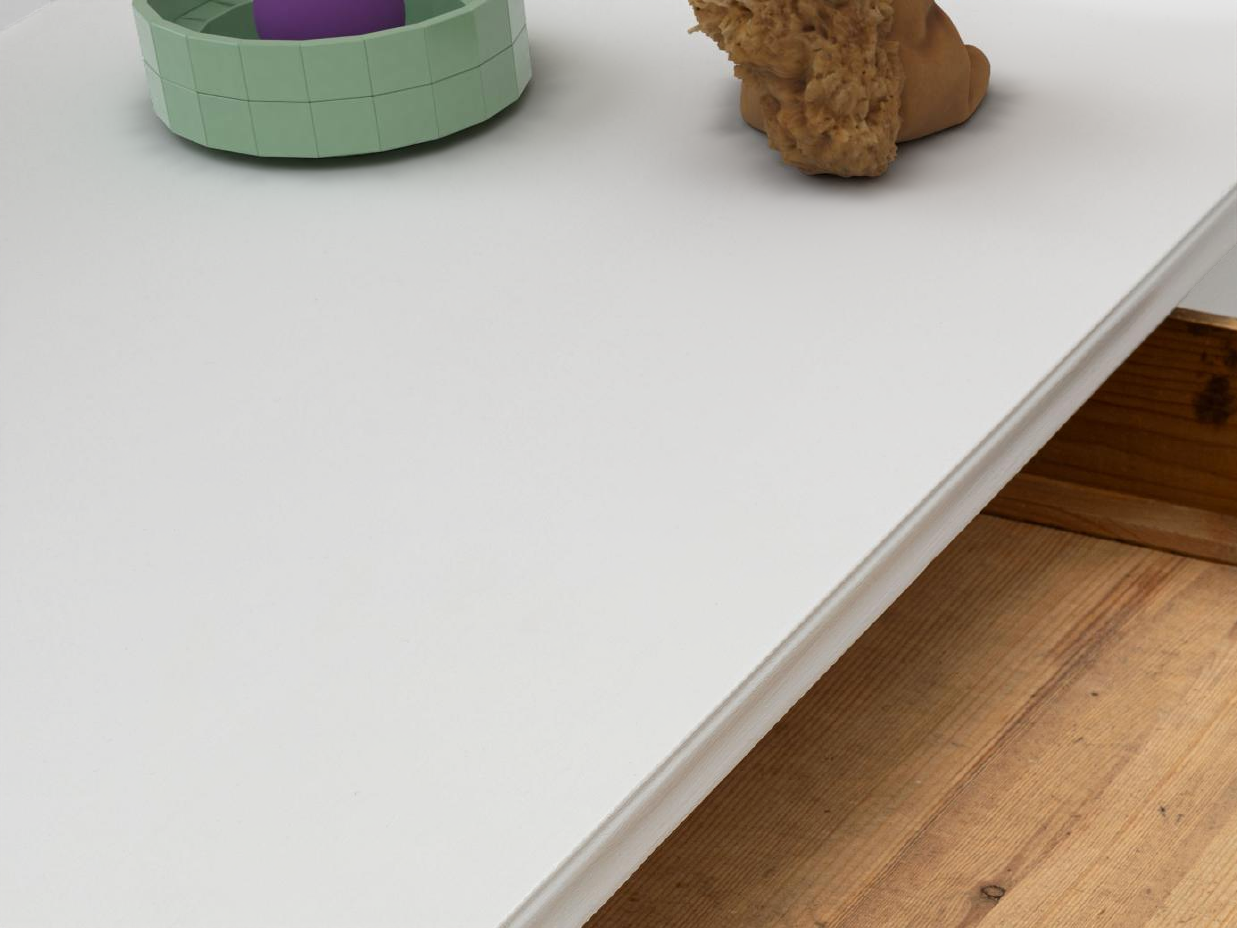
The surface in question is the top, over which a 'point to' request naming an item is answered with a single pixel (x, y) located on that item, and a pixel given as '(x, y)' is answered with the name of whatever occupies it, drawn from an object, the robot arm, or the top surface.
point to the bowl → (330, 76)
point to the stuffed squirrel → (845, 76)
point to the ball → (325, 18)
